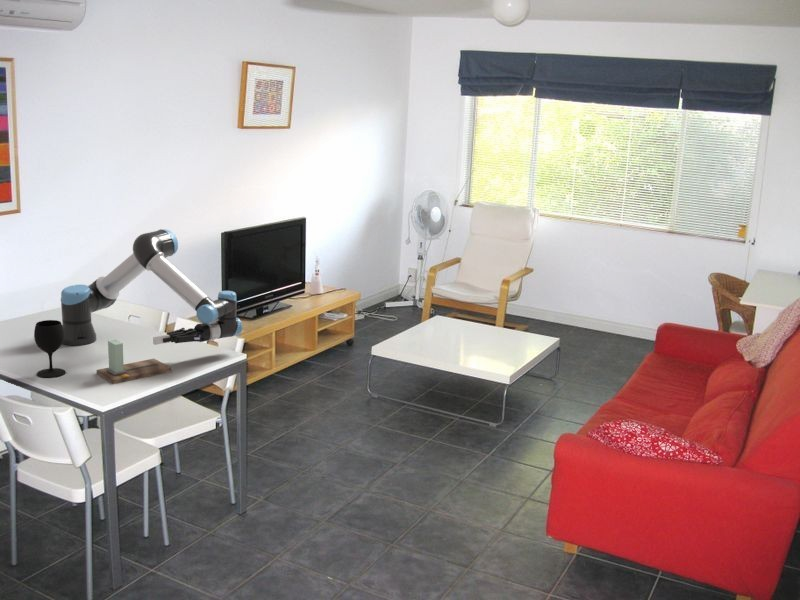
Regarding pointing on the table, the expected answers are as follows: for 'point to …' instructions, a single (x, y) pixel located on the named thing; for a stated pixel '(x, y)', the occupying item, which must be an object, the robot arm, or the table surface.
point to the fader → (115, 357)
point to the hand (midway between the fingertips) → (154, 341)
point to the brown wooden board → (136, 371)
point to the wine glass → (49, 344)
